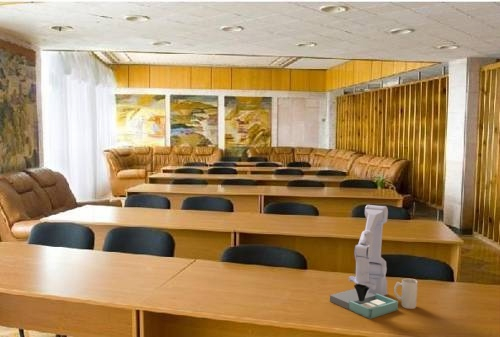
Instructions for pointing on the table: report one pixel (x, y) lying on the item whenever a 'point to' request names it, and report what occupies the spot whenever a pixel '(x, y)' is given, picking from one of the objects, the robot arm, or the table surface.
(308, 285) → the table surface
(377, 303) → the tile
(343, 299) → the grey flat slab
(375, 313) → the tray
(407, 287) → the mug
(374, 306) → the tile
